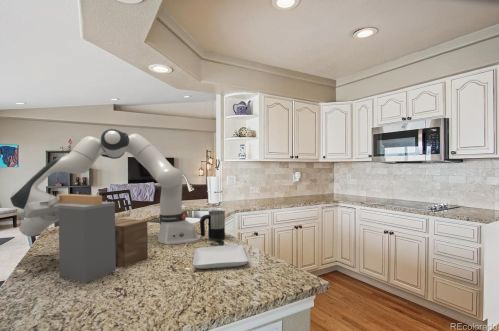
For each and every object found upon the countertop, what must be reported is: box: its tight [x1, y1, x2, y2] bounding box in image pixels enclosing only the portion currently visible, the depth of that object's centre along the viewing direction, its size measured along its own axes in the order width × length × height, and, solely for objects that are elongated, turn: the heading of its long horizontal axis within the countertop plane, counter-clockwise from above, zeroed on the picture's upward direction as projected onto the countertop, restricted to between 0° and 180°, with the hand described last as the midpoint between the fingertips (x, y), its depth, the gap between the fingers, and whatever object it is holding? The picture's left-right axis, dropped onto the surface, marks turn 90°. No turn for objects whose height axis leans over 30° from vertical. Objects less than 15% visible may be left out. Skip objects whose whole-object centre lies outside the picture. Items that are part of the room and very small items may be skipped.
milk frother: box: [199, 209, 226, 245], centre depth 140 cm, size 14×16×15 cm
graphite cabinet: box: [58, 201, 117, 284], centre depth 99 cm, size 14×12×26 cm
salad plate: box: [192, 244, 249, 270], centre depth 111 cm, size 21×21×3 cm
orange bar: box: [56, 193, 103, 205], centre depth 101 cm, size 22×3×3 cm, turn 66°
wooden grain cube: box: [115, 218, 149, 268], centre depth 113 cm, size 14×12×16 cm
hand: (65, 197), depth 104 cm, fingers closed on orange bar, 3 cm apart
